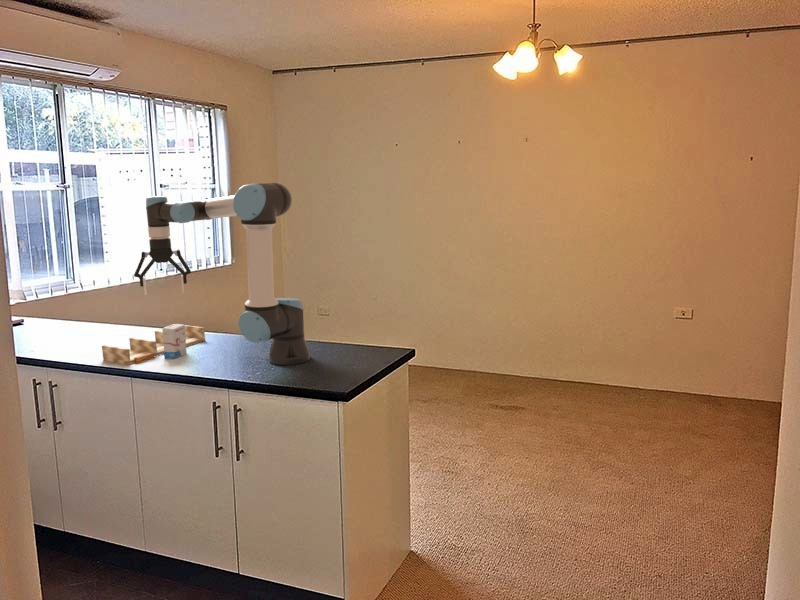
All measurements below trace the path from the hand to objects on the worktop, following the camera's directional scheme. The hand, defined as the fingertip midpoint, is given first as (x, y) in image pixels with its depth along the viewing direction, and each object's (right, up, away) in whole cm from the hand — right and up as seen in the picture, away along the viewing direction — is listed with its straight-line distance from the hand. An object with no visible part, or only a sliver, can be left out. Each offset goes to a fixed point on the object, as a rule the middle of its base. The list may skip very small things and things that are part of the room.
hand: (164, 293), depth 256 cm
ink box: (+4, -24, +2) cm, 24 cm away
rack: (-7, -22, +12) cm, 26 cm away
